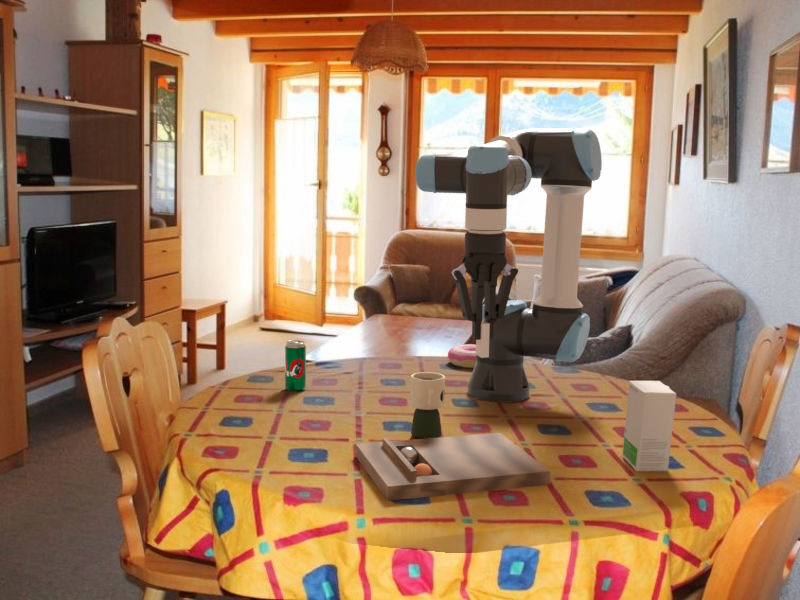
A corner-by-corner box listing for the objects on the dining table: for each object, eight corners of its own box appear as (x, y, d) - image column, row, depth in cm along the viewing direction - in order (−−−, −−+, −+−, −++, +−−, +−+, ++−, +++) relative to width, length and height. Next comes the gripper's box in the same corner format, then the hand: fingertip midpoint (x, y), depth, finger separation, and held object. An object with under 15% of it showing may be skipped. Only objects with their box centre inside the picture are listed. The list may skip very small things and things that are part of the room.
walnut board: (499, 444, 170) (500, 425, 169) (549, 484, 149) (550, 463, 148) (355, 456, 161) (356, 436, 160) (387, 500, 140) (388, 477, 139)
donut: (444, 368, 232) (445, 351, 232) (450, 358, 245) (450, 341, 245) (493, 371, 230) (494, 354, 229) (496, 360, 243) (497, 344, 242)
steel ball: (399, 443, 158) (395, 460, 158) (404, 449, 155) (400, 466, 155) (415, 445, 159) (412, 462, 159) (421, 451, 156) (417, 468, 156)
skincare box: (621, 456, 164) (626, 379, 162) (654, 456, 165) (660, 379, 162) (637, 472, 156) (642, 391, 153) (671, 472, 156) (677, 391, 154)
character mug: (447, 445, 168) (449, 382, 166) (412, 446, 168) (414, 383, 165) (438, 428, 179) (440, 369, 177) (405, 428, 178) (407, 369, 176)
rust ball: (412, 459, 149) (408, 477, 150) (418, 466, 146) (413, 484, 146) (430, 462, 150) (425, 479, 151) (436, 468, 147) (431, 487, 147)
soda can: (309, 388, 208) (310, 341, 206) (296, 393, 204) (296, 345, 202) (293, 385, 211) (294, 338, 209) (280, 389, 206) (280, 342, 204)
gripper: (509, 227, 159) (505, 348, 163) (445, 229, 155) (442, 353, 159) (526, 232, 152) (522, 358, 156) (459, 234, 148) (457, 363, 152)
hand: (482, 355), depth 158 cm, fingers closed
